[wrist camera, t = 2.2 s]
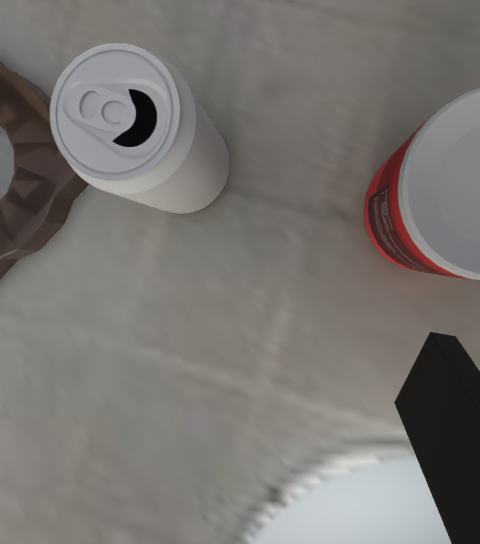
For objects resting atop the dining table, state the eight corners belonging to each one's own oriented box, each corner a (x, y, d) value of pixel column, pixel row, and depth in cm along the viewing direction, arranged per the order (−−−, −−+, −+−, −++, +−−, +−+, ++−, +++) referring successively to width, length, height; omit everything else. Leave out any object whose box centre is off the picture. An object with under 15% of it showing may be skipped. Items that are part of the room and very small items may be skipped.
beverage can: (213, 227, 30) (161, 210, 19) (126, 197, 31) (21, 162, 19) (244, 135, 30) (210, 57, 18) (154, 106, 31) (64, 13, 19)
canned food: (507, 165, 28) (642, 109, 17) (462, 288, 29) (565, 308, 18) (386, 130, 29) (441, 55, 18) (345, 250, 29) (374, 247, 19)
